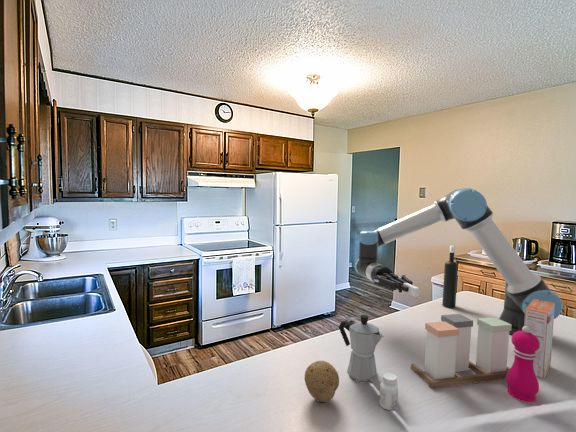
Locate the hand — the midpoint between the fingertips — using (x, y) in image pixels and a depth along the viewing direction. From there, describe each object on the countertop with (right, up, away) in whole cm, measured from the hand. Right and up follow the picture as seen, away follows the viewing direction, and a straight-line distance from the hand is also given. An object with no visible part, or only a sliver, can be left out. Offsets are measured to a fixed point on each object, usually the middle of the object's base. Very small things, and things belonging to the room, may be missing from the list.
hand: (416, 292), depth 104 cm
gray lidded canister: (+10, -22, -4) cm, 25 cm away
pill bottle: (-15, -24, -21) cm, 35 cm away
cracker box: (+36, -24, -2) cm, 44 cm away
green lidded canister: (+20, -23, -6) cm, 31 cm away
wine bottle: (+38, -20, +56) cm, 70 cm away
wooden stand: (+10, -24, -5) cm, 26 cm away
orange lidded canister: (+2, -22, -10) cm, 25 cm away
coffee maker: (-20, -23, -6) cm, 31 cm away
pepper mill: (+21, -25, -17) cm, 37 cm away
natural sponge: (-32, -24, -19) cm, 44 cm away
